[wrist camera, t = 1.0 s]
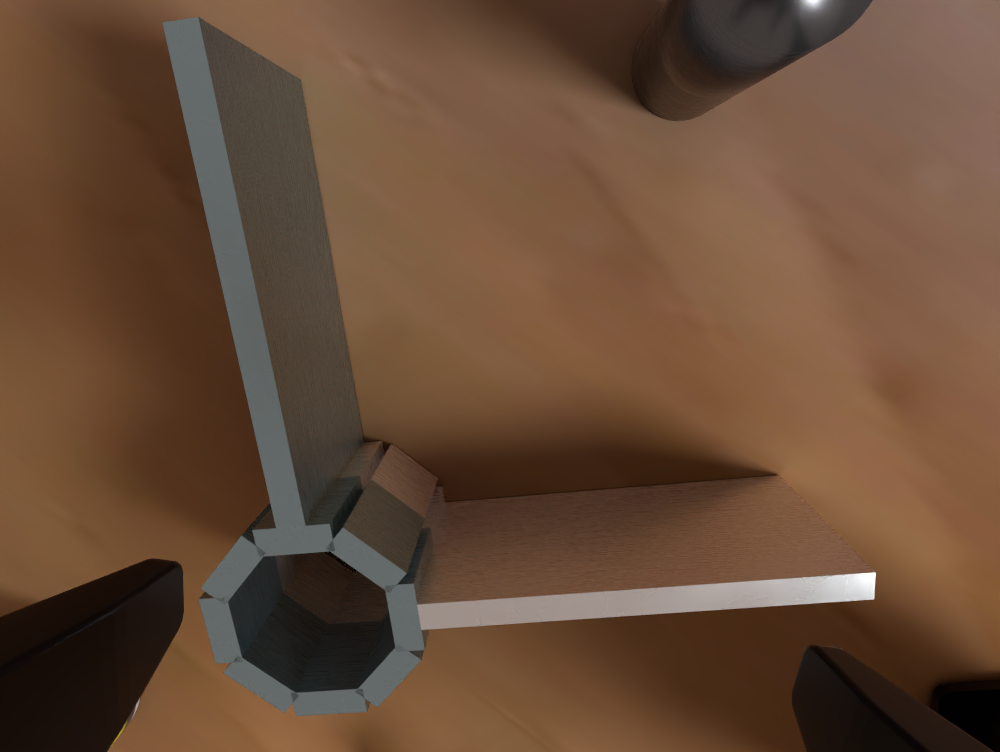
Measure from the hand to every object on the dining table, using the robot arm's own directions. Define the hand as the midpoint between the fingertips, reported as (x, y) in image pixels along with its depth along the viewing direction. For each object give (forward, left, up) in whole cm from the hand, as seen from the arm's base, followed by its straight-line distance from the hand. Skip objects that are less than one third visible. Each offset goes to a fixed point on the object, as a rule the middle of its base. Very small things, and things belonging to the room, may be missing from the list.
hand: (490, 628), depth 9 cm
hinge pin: (-6, -9, -13) cm, 17 cm away
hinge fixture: (0, -1, -13) cm, 13 cm away
